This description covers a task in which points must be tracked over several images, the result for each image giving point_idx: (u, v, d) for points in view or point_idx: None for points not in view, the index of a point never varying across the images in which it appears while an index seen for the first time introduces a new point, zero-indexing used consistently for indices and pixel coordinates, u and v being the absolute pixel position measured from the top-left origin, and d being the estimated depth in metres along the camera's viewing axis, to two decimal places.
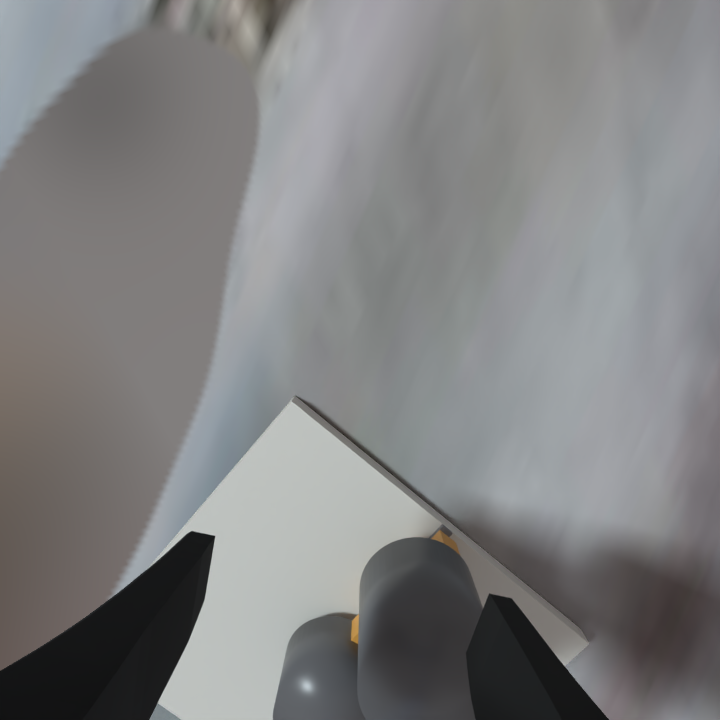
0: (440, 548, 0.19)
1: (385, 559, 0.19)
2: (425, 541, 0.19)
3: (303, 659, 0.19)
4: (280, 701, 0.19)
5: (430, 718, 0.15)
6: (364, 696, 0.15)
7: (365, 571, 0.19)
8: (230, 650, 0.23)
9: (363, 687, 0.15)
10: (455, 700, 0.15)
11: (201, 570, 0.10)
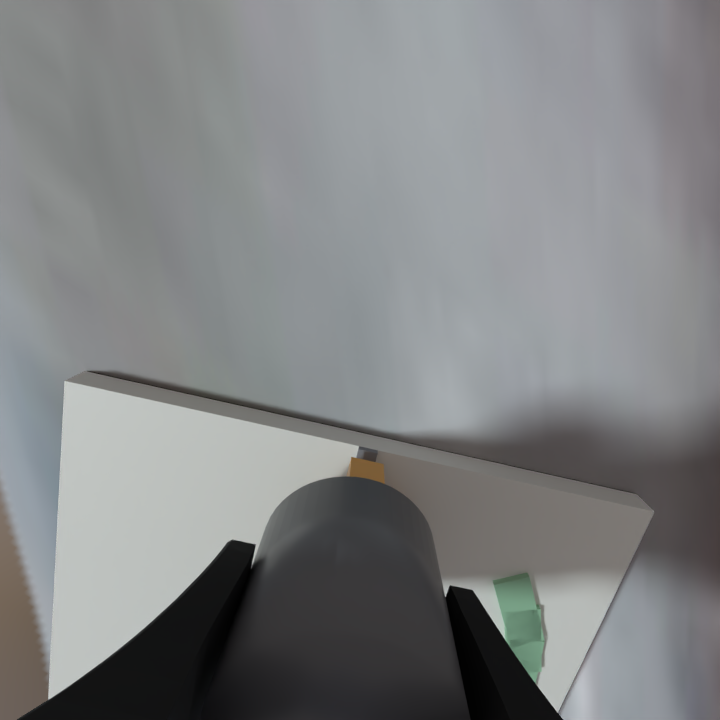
0: (337, 487, 0.12)
1: (262, 538, 0.12)
2: (315, 486, 0.12)
3: None
4: None
5: None
6: None
7: None
8: None
9: None
10: None
11: (244, 579, 0.10)
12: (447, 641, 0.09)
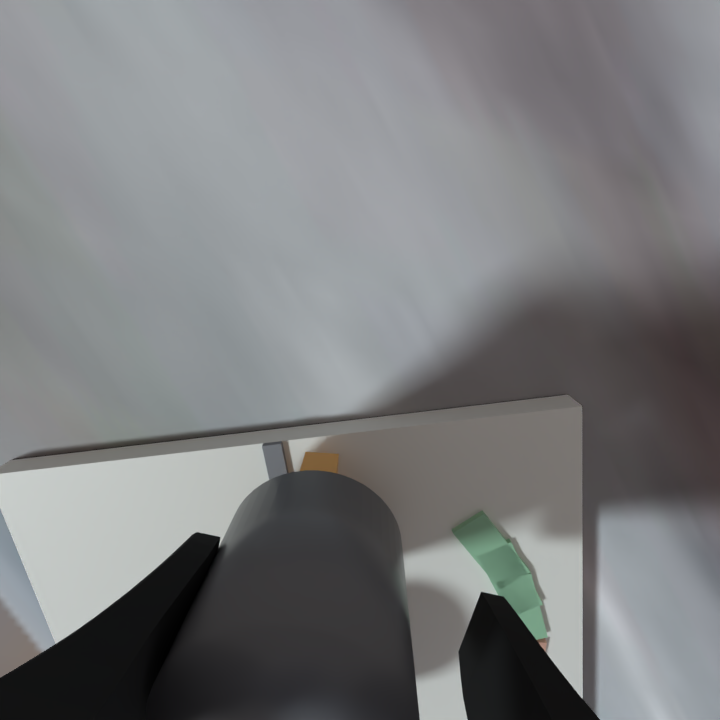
0: (285, 483, 0.12)
1: None
2: (265, 485, 0.12)
3: None
4: None
5: None
6: None
7: None
8: None
9: None
10: None
11: (206, 571, 0.10)
12: (386, 619, 0.09)
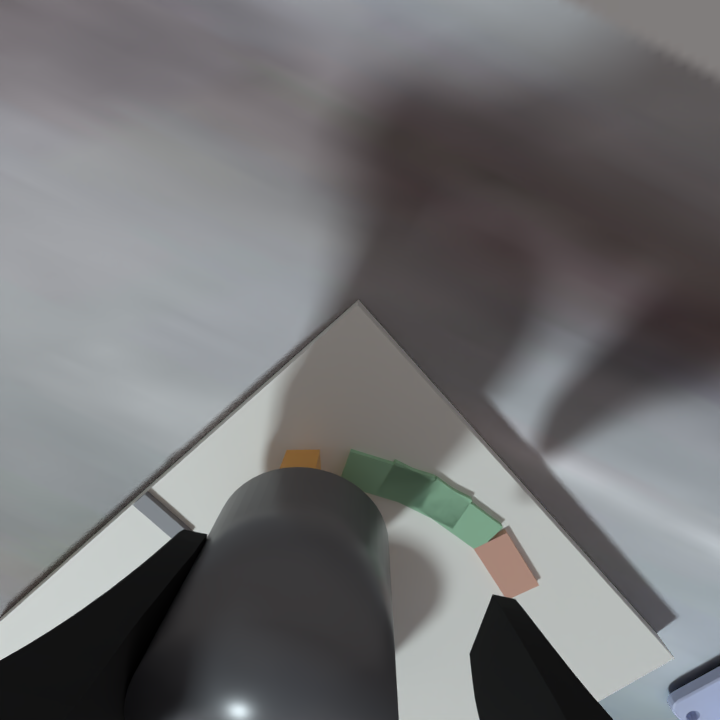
0: (263, 482, 0.12)
1: None
2: (246, 485, 0.12)
3: None
4: None
5: None
6: None
7: None
8: None
9: None
10: None
11: None
12: (358, 609, 0.09)
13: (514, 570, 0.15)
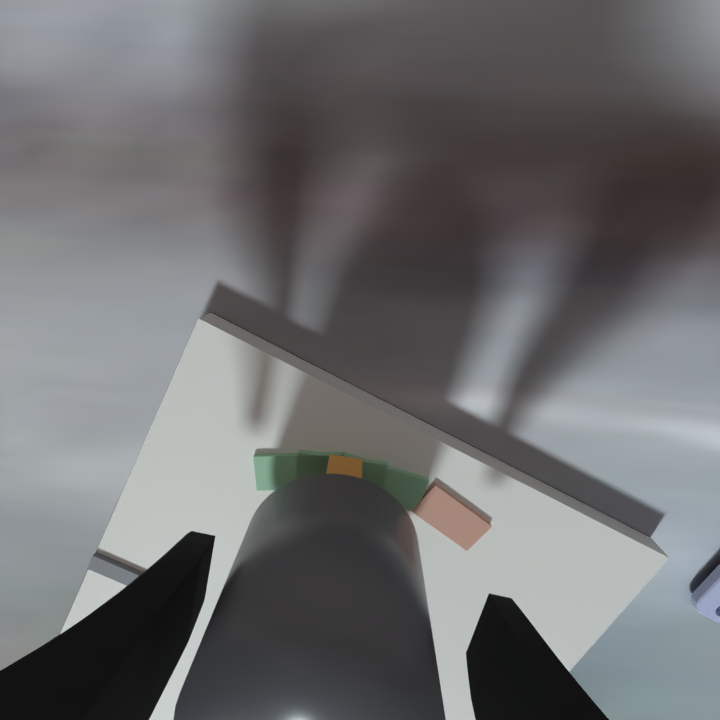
0: (312, 485, 0.12)
1: (242, 541, 0.12)
2: (291, 485, 0.12)
3: None
4: None
5: None
6: None
7: None
8: None
9: None
10: None
11: (201, 570, 0.10)
12: (418, 631, 0.09)
13: (460, 519, 0.14)
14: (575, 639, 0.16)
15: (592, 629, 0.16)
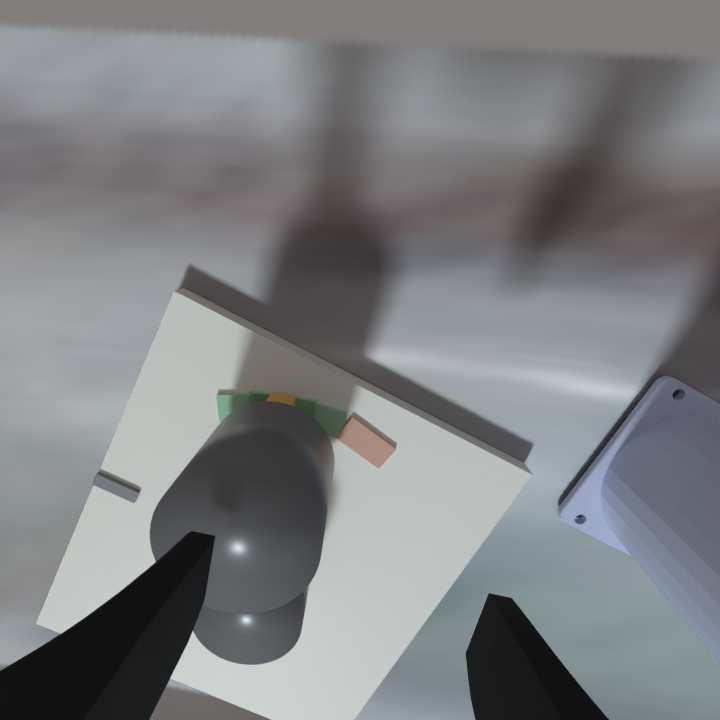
0: (253, 407, 0.17)
1: None
2: (240, 409, 0.17)
3: None
4: (196, 625, 0.18)
5: (256, 572, 0.13)
6: None
7: None
8: (300, 637, 0.23)
9: None
10: (265, 542, 0.13)
11: (201, 570, 0.10)
12: (308, 483, 0.14)
13: (372, 444, 0.19)
14: (466, 541, 0.21)
15: (479, 533, 0.21)
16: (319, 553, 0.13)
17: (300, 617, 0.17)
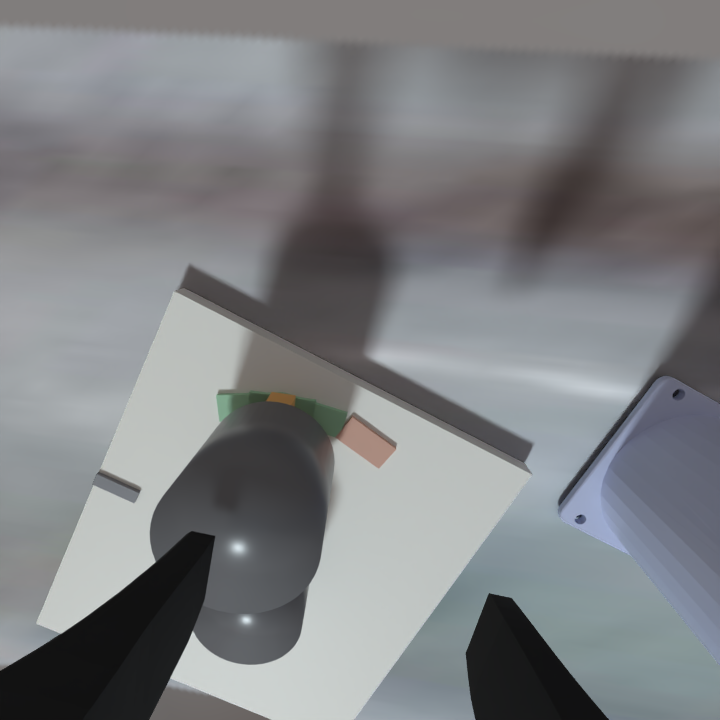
0: (253, 407, 0.17)
1: None
2: (240, 409, 0.17)
3: None
4: (196, 625, 0.18)
5: (256, 572, 0.13)
6: None
7: None
8: (300, 637, 0.23)
9: None
10: (265, 542, 0.13)
11: (201, 570, 0.10)
12: (308, 483, 0.14)
13: (372, 444, 0.19)
14: (466, 541, 0.21)
15: (479, 533, 0.21)
16: (319, 553, 0.13)
17: (300, 617, 0.17)
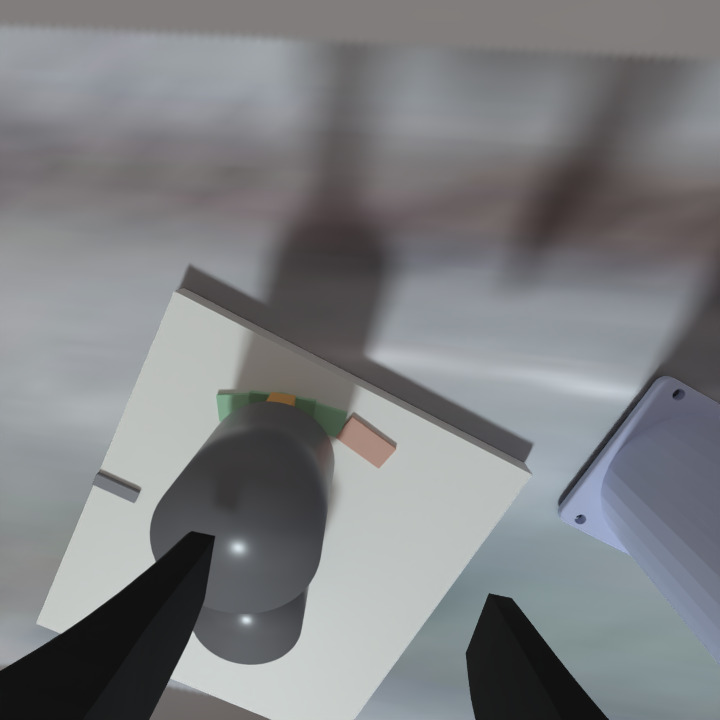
0: (253, 407, 0.17)
1: None
2: (240, 409, 0.17)
3: None
4: (196, 625, 0.18)
5: (256, 572, 0.13)
6: None
7: None
8: (300, 637, 0.23)
9: None
10: (265, 542, 0.13)
11: (201, 570, 0.10)
12: (308, 483, 0.14)
13: (372, 444, 0.19)
14: (466, 541, 0.21)
15: (479, 533, 0.21)
16: (319, 553, 0.13)
17: (300, 617, 0.17)
